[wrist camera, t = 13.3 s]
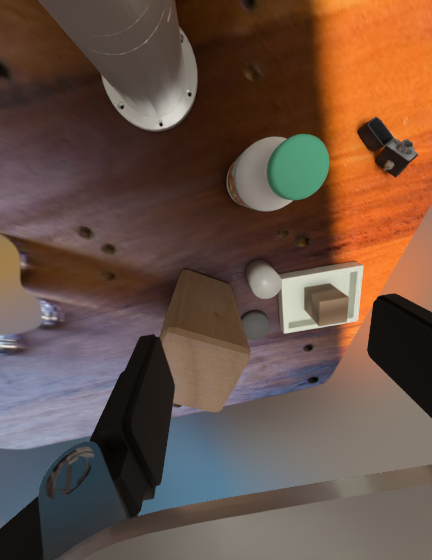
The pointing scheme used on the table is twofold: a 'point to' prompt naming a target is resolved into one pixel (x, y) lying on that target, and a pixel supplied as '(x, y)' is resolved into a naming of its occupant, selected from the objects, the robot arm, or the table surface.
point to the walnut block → (326, 304)
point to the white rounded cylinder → (263, 279)
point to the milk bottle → (278, 172)
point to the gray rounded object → (255, 324)
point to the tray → (293, 284)
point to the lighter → (387, 147)
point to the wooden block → (204, 341)
